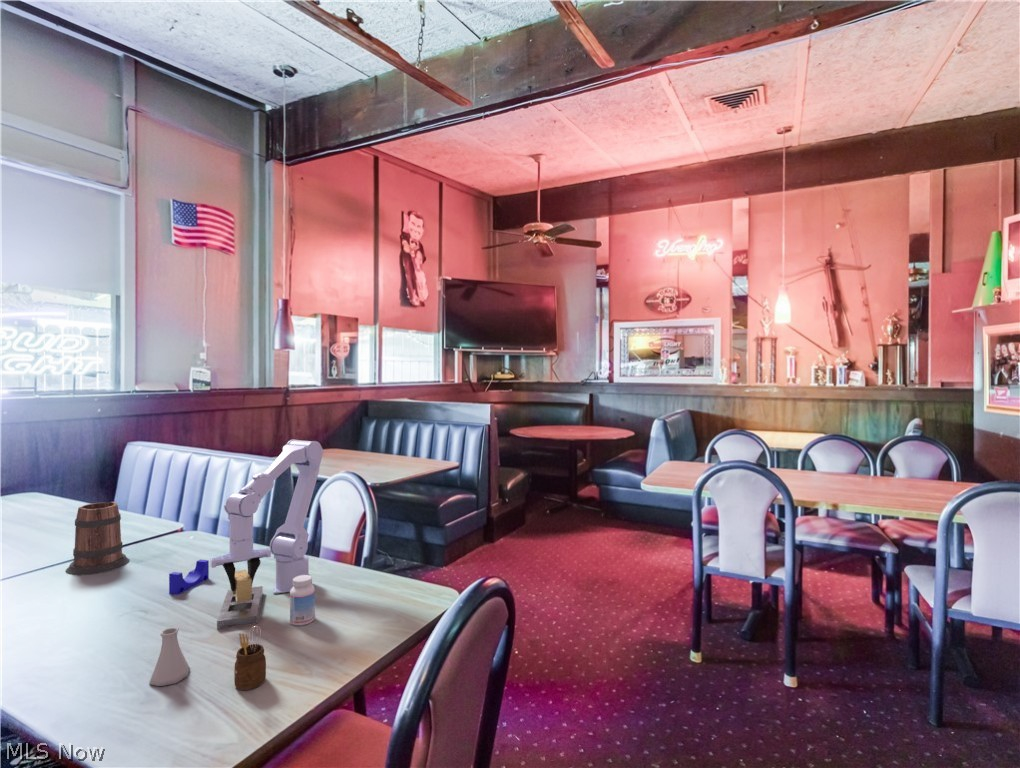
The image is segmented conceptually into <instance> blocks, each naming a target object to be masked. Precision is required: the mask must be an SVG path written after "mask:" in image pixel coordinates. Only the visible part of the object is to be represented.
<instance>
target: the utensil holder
mask: <svg viewBox="0 0 1020 768" xmlns="http://www.w3.org/2000/svg"><path fill="white" fill-rule="evenodd" d="M255 628H256V632H258V629H259V630H260V635H259V636H261V635H262V634H261V633H262V632H261V630H262V629H261V627H260V626H258V625H254V626H252V628H250V630H249V634H247V633H239V634H238V635H239V643H240V648H239V649H238V650H237V651H236V657H235V659H236V660H235V662H234V675H233V676H234V678H233V679H234V686H235V688H236V689H237V690H240V691H249V690H254V689H257V688H258V687H260V686H261V685H263V684H264V682H265V681H266V678H267V677H266V676H267V675H266V674H267V658H266V656H265V649H264V646H263V645H262V644H259V643H260V642H258V638H256V639H255V643H253V636H254V634H252V636H251V637H252V638H251V642H250V640H249V636H250V633H251V631H252V630H255Z"/></svg>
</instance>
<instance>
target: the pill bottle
mask: <svg viewBox="0 0 1020 768" xmlns="http://www.w3.org/2000/svg"><path fill="white" fill-rule="evenodd" d="M312 583H313V577H312V576H311V575H300V576H297V577H295V578H293V586H294V587H292V589H291V590H290V592H289V622H290V624H291V625H293V626H305V625H309V624H310V623H312V622H313V621H314V620H315V618H316V606H315V605H316V587H315V586H314V585H313V584H312Z"/></svg>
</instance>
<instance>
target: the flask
mask: <svg viewBox="0 0 1020 768" xmlns="http://www.w3.org/2000/svg"><path fill="white" fill-rule="evenodd" d="M179 630H180V629H179V627H175V626H172V627H167V628H165V629H163V630H161V632H160V637H161V638H162V640H161V641H162V642H161V649H160V653H159V656H158V659H157V662H156V665H155V667H154V670H153V673H152V675H151V678H150V680H149V683H148V685H152V686H156V687H163V686H164V687H165V686H168V685H169V686H170V685H173V684H178V683H179V682H181V681H182V680H184V679H185V678H186V677H188V676H189V674H190V670H191V667H190V665H189V664H188V661H187V660H186V658H185V656H184V654H183V651H182V649H181V647H180V644H179V640H178V639H179V638H178V633H179Z"/></svg>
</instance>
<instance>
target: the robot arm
mask: <svg viewBox="0 0 1020 768" xmlns="http://www.w3.org/2000/svg"><path fill="white" fill-rule="evenodd" d="M324 452H325V451H324V449H323V447H322V445H321V443H320V442H319V441H317V440H312V441H310V440H300V439H293V438H291V439H290V440H288V441H287V443H286V444H285V445H283V446H282V451H281V453H280V454H279V455H278V457H276V459H275V460H274V461H273V462H272V463H271V465H269V467H268V468H267V469H266V470H265V471H264V472H259V473H256V474H254V475H253V476H252V477H251V478H252V479H251V480H250V481H248V482H247V483H246V485H245V486H244V487H242V488H241V489H240V490H239V492H235V493H233V494H231V495H230V496H229V497H228V498H227V499H226V501H225V504H224V505H223V509H224V511H225V513H226V514H227V519H228V520H229V553H227V554H224V555H220V556H216V557H211V558H210V561H209V562H210V563H209V564H210V567H211V568H212V569H213V568H216V567H218V566H222V567H223V570H224V571H225V573H226V575H227V579H228V581H229V586H230V590H232V591H235V572H236V567H235V563H241V562H247V563H246V564H247V573H248V574H249V576H250V577H251V578H252V584H253V583H254V578H255V576H256V573H257V570H258V569H259V567H260V565H261V559H263V558H268V559H269V558H271V557H272V555H273V559H275V583H274V587H273V594H282V593H283V594H284V593H290V590H291V589H292V587H294V586H293V578H295V577H297V576H300V575H310V574H309V567H310V566H309V558H310V556H309V555H306V553H307V551H308V548H309V543H308V542H309V541H308V539H309V536H310V534H309V531H307V530H306V529H305V527H304V526H305V522H306V519H307V516H308V512H309V509H310V508H309V507H310V505H311V502H312V501H311V500H312V498H313V495H314V491H315V487H316V483H317V479H318V475H319V473H320V467H321V463H322V458H323V455H324ZM291 465H293V466H295V468H297V470H298V472H299V473H298V477H297V482H296V484H295V487H294V490H293V493H292V494H293V495H292V498H291V500H290V504H289V508H288V512H287V514H286V518H285V522H284V523H283V524H281V525H280V526H279V527H277V529H276V532H275V533H274V535H273V537H272V538H271V540H270V542H269V548H262V549H261V548H259V549H254V514H256V512H257V511H258V509H259V506H260V503H261V501H262V499H263V498H264V497H266V496H267V494H268V493H269V492H270V491H271V490H272V489H273V488H274V487H275V486H274V485H275V483H274V482H275V480H277V478H278V477H280V476H281V475H282V474H283V473H284V472H285V471H286V470H287V469H288V468H290V467H291ZM310 576H311V575H310Z"/></svg>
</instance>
